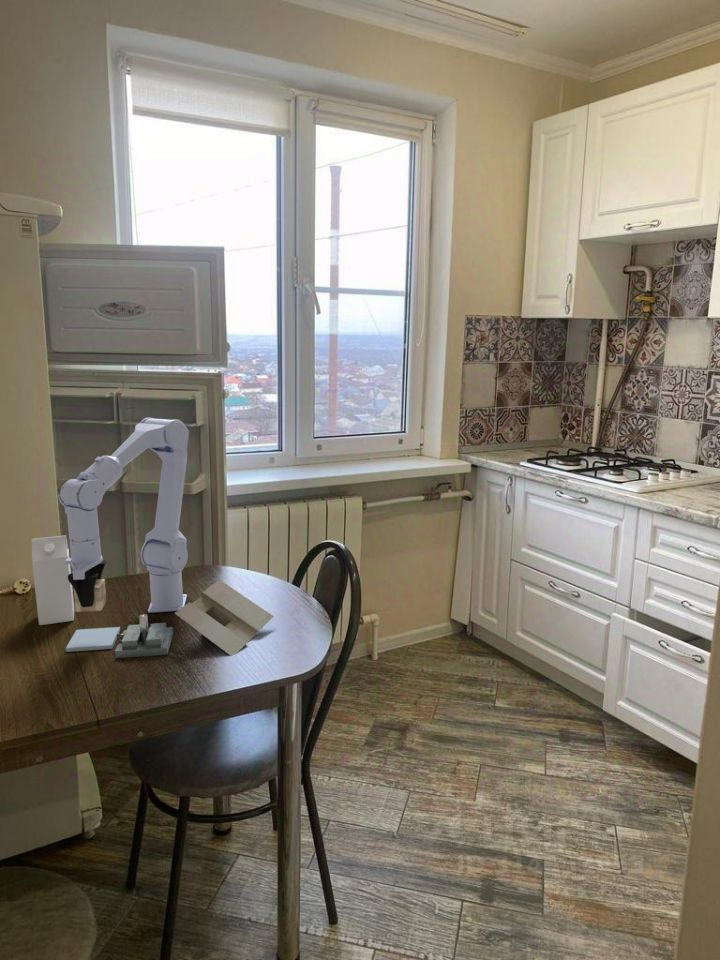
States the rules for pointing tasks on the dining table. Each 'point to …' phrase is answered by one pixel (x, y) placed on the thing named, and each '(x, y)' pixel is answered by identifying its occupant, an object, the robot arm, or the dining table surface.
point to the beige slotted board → (225, 617)
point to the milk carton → (52, 580)
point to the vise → (144, 639)
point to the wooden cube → (98, 598)
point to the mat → (93, 639)
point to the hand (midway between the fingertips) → (90, 601)
